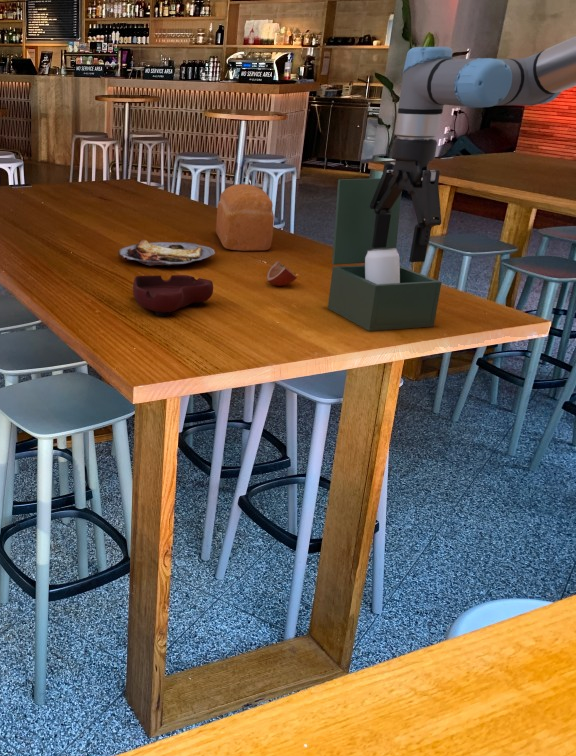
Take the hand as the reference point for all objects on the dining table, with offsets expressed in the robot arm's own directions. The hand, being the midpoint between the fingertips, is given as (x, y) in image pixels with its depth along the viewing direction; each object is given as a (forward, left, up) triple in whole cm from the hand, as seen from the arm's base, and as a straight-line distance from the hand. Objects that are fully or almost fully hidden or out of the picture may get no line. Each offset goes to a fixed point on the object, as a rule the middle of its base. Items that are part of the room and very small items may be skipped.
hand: (397, 254), depth 153 cm
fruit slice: (+31, +8, -14) cm, 35 cm away
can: (+3, -1, -12) cm, 12 cm away
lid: (+11, 0, +4) cm, 12 cm away
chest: (+3, 0, -14) cm, 14 cm away
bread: (+79, -3, -14) cm, 80 cm away
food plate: (+62, +26, -14) cm, 69 cm away
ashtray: (+21, +40, -14) cm, 47 cm away
